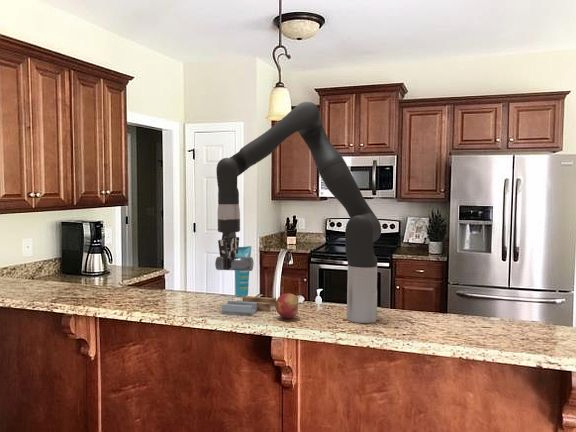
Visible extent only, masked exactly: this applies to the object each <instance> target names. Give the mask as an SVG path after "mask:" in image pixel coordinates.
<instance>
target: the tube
mask: <svg viewBox="0 0 576 432" xmlns="http://www.w3.org/2000/svg"><path fill="white" fill-rule="evenodd" d="M251 254H252V245H250V246H249V245H247V246H239V248H238V254H236V256H235V257H251V256H252V255H251ZM234 278H235V279H234V280H235V283H234V285H235V287H234V288H235V292H234V293H235V296H236V297H244V296H246V297H249V296H248V295H249V284H250V283H249V282H250V281H249V280H250V271H237V270H234Z"/></svg>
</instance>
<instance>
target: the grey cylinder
mask: <svg viewBox="0 0 576 432" xmlns="http://www.w3.org/2000/svg"><path fill="white" fill-rule="evenodd" d="M214 263H215V264H214V266H215V269H216V271H225V270H224V269H223V258H222V257H220V256H217V257H216V258H215V262H214ZM254 263H255V262H254V258H253V257H230V269H229V270H228V271H235V270H237V271H249V272H252V271H253V269H254V266H255V265H254Z"/></svg>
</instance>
